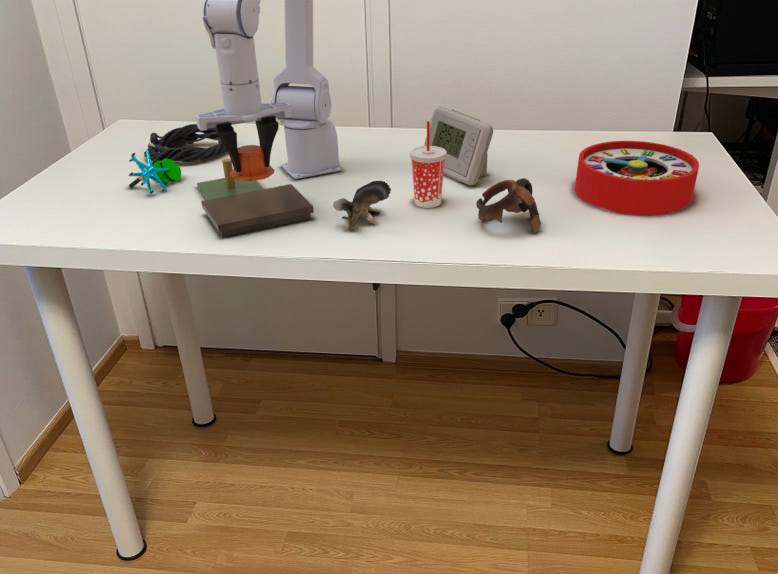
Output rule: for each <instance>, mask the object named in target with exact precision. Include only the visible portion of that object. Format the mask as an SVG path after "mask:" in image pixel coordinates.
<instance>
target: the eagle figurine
mask: <svg viewBox="0 0 778 574" xmlns="http://www.w3.org/2000/svg"><path fill="white" fill-rule="evenodd" d="M391 191H392V188H391V187H390V185H389V184H388V182H386V181H383V180H372V181H371V182H369V183H367V184H365V185H363V186H361V187H359V188H357V189H356V191H355V194H354V195H353V197H352V201H349V200H348V199H347V198H345V197H342V198H339V199H337V200H334V202H333V204H332V206H333V208H334V209H335V210H336V211H338V212H342V211H343V212H346V214H347V216H341V219H343V220H347V221H348V231H351V230H352V229H353V227H355V226H356V224H357V223H356V222H357V219H359V218H361V219H363V220H367V221H368V222H370V223H371V224H372V225H374V226H375V225H376V222H375V218H374V217H373V216H372V214H371V213H370V212H375V213H381V211H380V210H378V209H374V208H372V207H371V206H372V205H375V204H378V203H379V202H383V201H385V200H387V199H388V198H390V194H392V193H391Z"/></svg>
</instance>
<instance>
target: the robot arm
mask: <svg viewBox="0 0 778 574" xmlns="http://www.w3.org/2000/svg"><path fill="white" fill-rule="evenodd" d="M261 1H262V0H204V2H203V6H202V7H203V8H202V14H203V16H202V22H203V26H204V28H205V30H206V32H207V34H208V35H209V36H208V37H209V40H210V46H211V47H212V49H214V50H215V55H216V61H217V68H218V74H219V75H218V76H219V81H220V87H221V94H222V101H223V102H222V103H223V107H224V108H220V109H217V110H213V111H209V112H204V113H199V114H196V115H195V120H196V124H197V126H198V128H199V130H200V131H204V130H207V129H208V128H214V129H215V131H216V132H217V134H218V135H219V137H220V138H221V140H222V142H223V144H224V146H225V147H226V149H227V152H226V153H227V154H228V156H229V159H231V161H232V167H233V169H234V170H235V171H236V172H241V165H240V160H239V155H238V148H239V147H238V134H237V132H236V131H235V129H234V126H233V125H240V124H246V123H253V122H254V123H255V127H256V131H257V136H258V141H259V146H261V147H262V149H263V152H264V159H265V167H269V166H271V164H270V163H271V155H272V154H271V153H272V150H273V149H272V148H273V144H274V142H275V138H276V136H277V133H278V131H279V128H280V126H283V130H284V139H285V140H284V141H285V148H286V159H287V162H285V163H282V164H281V168H282V169H283V170H284V171H286V173H287V174H288V175H289V176H290V177H292V178H293V179H294V180H299V179H304V178H308V177H314V176H319V175H326V174H331V173H336V172H340V171H342V168H341V167H340V155H339V154H340V153H339V141H338V138H339V137H338V133H337V129H336V125H335V124H334V122H333V121H332V120H331V119H329V118H330V115H331V112H332V98H331V94H330V86H329V85H330V83H329V80H328V78H326V76H325V75H323V73H322V72H320V71H319V70H318V69H317V68H316V67H315V66H314V0H284V44H285V50H284V51H285V67H284V69H282V70H281V71H279V73H278V74H276V75H275V76H274V78H273V82H272V93H271V96H270V97H271V98H270V102H268V103H262V96H261V88H260V87H261V86H260V80H259V71H258V63H257V62H258V61H257V54H256V47H255V38H254V36H255V35H256V33H257V32H258V29H259V21H260V14H261V5H260V4H261ZM290 84H292V85H290ZM293 84H295V85H293ZM300 85H301V86H300ZM302 85H308V86H302Z"/></svg>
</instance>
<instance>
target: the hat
mask: <svg viewBox="0 0 778 574" xmlns="http://www.w3.org/2000/svg"><path fill="white" fill-rule="evenodd" d="M237 148H238V155H239V160H240V165H241V172H236V171H235V170H234V168H233V170H231V171H230V175H231V176H232V178H233V179H236V180H240V181H250V180H251V181H261V180H266V179H268V178H270V177H271V176H272V175H274V174H275V173H276V172H275V168H274V167H273V166H271V165H270V166H269V167H265V159H264V152H263V149H262V147H261V146H260V145H257V144H246V145H241V146H238V147H237Z"/></svg>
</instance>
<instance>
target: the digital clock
mask: <svg viewBox="0 0 778 574" xmlns="http://www.w3.org/2000/svg"><path fill="white" fill-rule="evenodd" d="M493 136H494V128H493V126H492V125H491V124H489V123H486V122H483V121H481V120H480V119H478V118H475V117H473V116H470V115H468V114H465V113H463V112H460V111H457V110H455V109H450V108H447V107H444V106H441V105H439V106H437V107H435V109H434V110H433V112H432V116H431V119H430V146H437V147H441V148H443V149H445V150H446V158H445V160H444V172H443V176H445V177H448V178H449V179H452V180H454V181H456V182H458V183H463V184H465V185H469V186H475V185H476V184H477V183H478V181H479V179H480V178H481V177H485V176H486V175H487V172H488V151H489V149H490V144H491V142H492V138H493ZM423 146H427V136H426V137H425V141H424V144H423Z"/></svg>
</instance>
